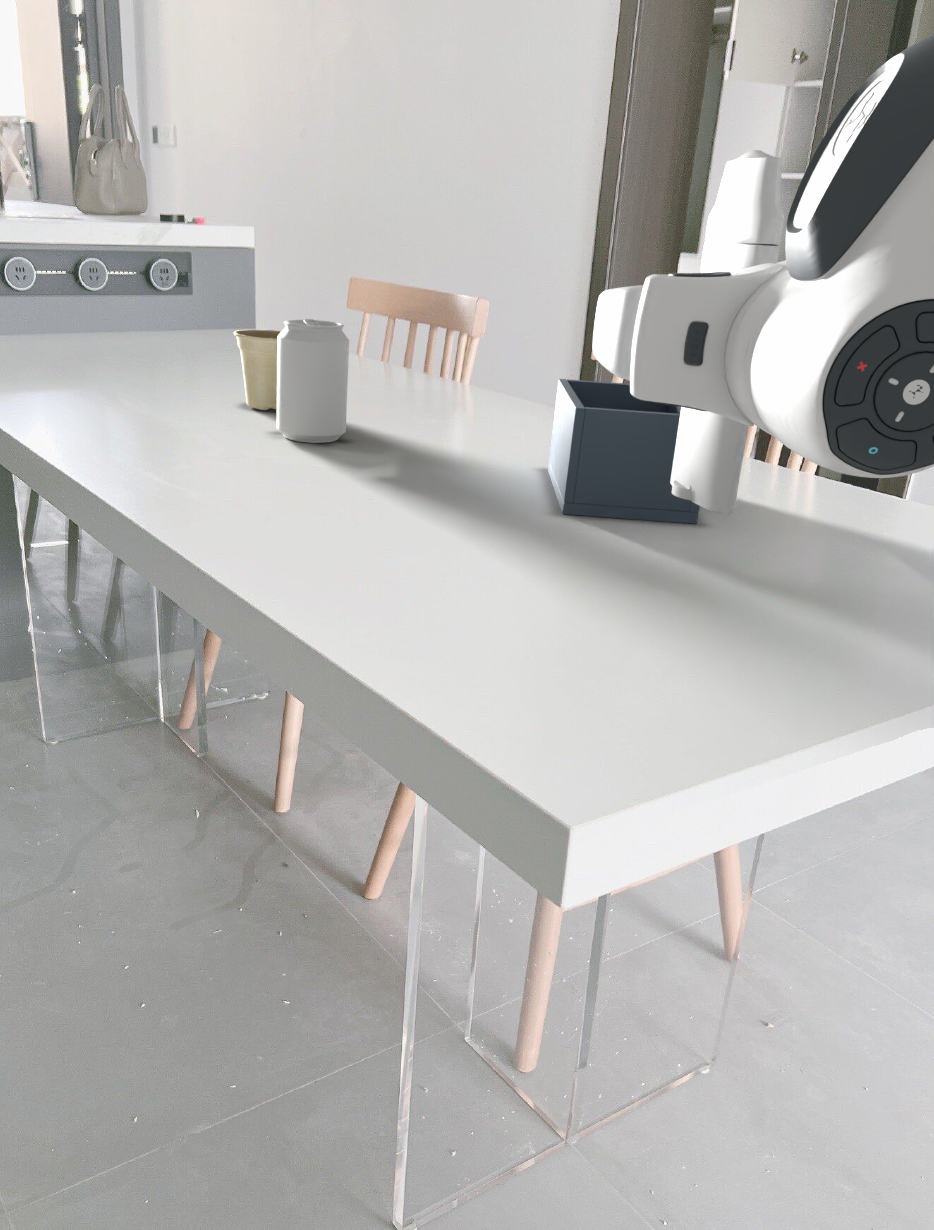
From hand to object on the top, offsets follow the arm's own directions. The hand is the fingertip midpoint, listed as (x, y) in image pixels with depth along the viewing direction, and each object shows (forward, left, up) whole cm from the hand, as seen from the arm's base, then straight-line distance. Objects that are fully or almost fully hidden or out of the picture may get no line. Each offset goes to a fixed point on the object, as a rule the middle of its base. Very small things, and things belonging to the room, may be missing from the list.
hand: (739, 324), depth 69 cm
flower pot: (+40, -60, -18) cm, 74 cm away
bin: (+2, -26, -17) cm, 31 cm away
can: (+33, -43, -18) cm, 57 cm away
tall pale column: (0, -2, -12) cm, 12 cm away
